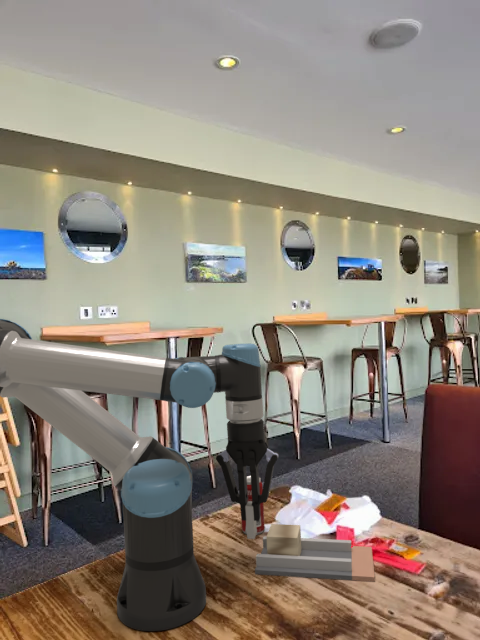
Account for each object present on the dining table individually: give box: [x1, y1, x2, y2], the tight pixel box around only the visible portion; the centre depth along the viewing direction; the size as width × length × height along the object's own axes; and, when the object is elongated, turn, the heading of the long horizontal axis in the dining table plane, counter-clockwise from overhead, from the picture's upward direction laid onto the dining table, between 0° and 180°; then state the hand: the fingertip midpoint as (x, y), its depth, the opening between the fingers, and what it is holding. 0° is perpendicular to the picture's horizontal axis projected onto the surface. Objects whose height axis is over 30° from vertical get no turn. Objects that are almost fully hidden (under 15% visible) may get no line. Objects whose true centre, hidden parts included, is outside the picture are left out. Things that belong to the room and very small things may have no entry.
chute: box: [254, 535, 376, 583], centre depth 97 cm, size 22×12×3 cm, turn 78°
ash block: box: [266, 523, 302, 556], centre depth 98 cm, size 6×6×5 cm
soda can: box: [241, 475, 266, 536], centre depth 113 cm, size 5×5×12 cm
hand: (252, 535), depth 100 cm, fingers closed
